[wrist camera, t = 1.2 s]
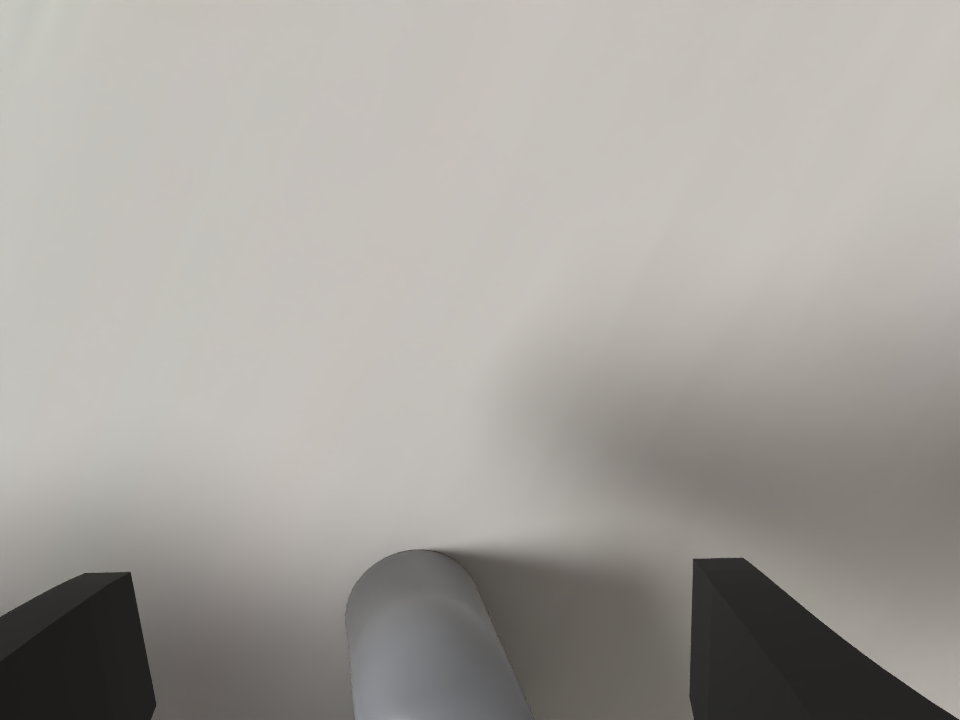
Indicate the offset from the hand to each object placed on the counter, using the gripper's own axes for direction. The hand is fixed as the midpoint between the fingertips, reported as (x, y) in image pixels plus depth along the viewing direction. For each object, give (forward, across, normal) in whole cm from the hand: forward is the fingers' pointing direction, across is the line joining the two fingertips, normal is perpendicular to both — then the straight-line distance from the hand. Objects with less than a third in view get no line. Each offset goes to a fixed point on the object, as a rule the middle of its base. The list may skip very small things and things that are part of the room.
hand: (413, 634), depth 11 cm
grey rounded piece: (+10, +1, +8) cm, 12 cm away
